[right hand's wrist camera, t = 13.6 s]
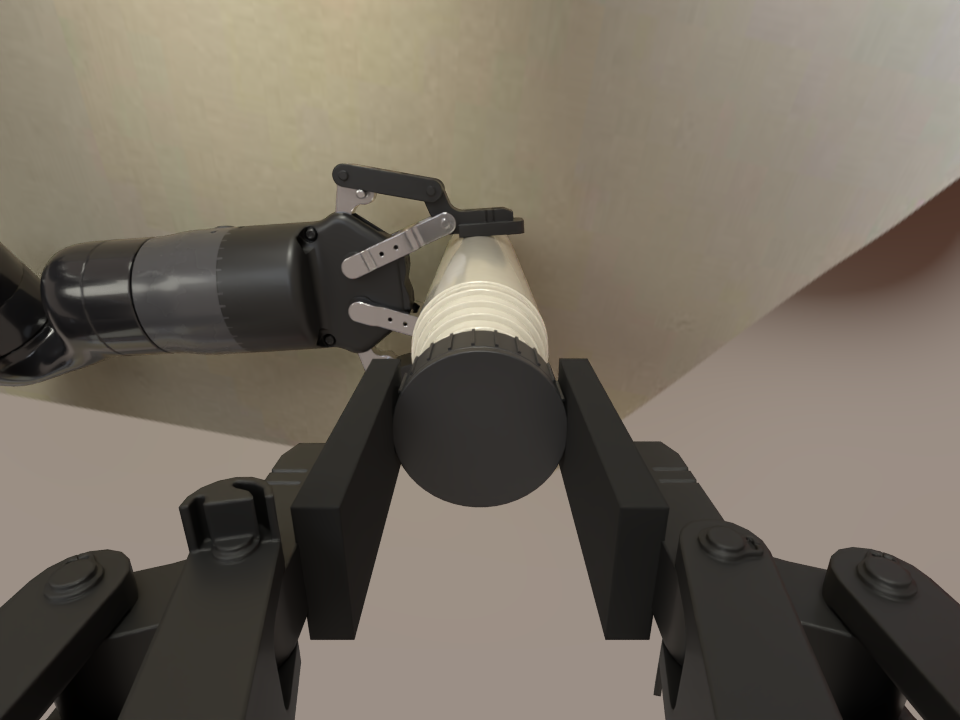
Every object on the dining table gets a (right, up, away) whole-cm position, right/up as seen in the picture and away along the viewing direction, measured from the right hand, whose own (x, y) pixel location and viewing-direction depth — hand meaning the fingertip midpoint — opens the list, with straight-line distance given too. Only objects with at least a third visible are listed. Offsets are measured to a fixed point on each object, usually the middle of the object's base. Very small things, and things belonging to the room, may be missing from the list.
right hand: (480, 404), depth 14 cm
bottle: (0, +9, +23) cm, 24 cm away
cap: (0, 0, -1) cm, 1 cm away
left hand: (+3, +6, +17) cm, 18 cm away
